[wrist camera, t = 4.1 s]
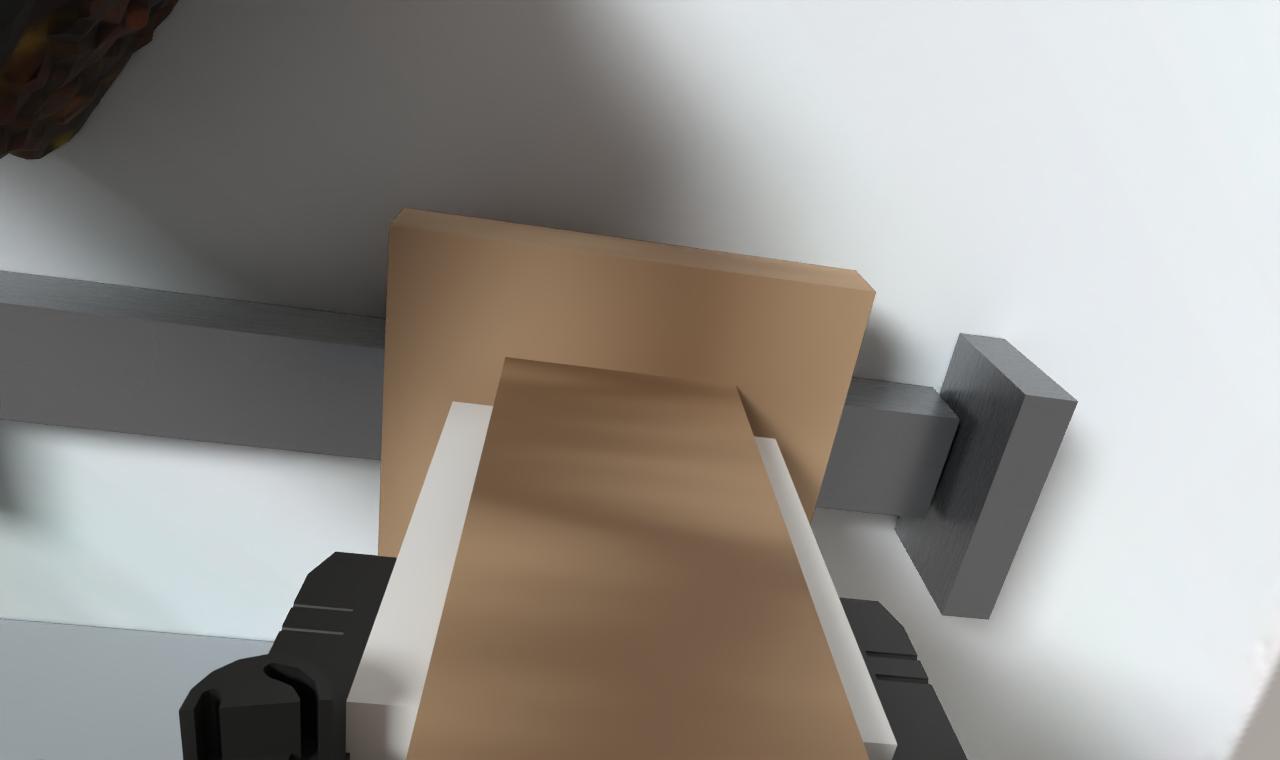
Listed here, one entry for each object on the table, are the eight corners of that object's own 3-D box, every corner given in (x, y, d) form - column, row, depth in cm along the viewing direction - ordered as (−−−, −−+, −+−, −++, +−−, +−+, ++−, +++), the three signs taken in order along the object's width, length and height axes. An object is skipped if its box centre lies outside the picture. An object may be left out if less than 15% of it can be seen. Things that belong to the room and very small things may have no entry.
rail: (-141, 420, 17) (-277, 499, 15) (-202, 178, 15) (-373, 218, 13) (934, 533, 20) (988, 619, 17) (1004, 339, 18) (1077, 401, 15)
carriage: (404, 539, 19) (107, 1396, 7) (422, 187, 16) (-64, 732, 4) (749, 573, 20) (966, 1389, 8) (833, 246, 17) (1384, 833, 5)
